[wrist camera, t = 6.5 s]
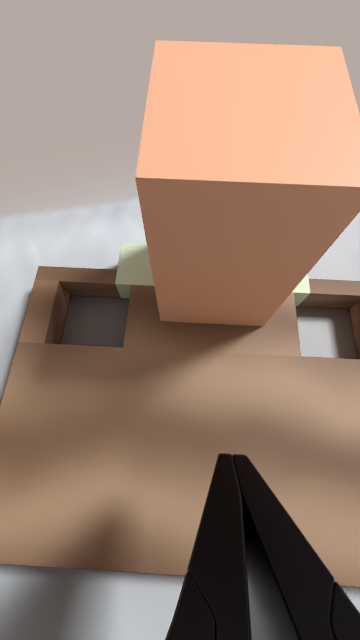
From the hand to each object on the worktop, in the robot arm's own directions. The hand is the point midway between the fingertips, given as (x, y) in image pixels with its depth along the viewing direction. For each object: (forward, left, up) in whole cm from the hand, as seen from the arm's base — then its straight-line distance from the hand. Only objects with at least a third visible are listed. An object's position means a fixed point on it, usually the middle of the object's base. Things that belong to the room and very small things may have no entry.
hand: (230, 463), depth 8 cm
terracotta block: (+8, +5, -6) cm, 11 cm away
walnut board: (+2, +1, -8) cm, 8 cm away
